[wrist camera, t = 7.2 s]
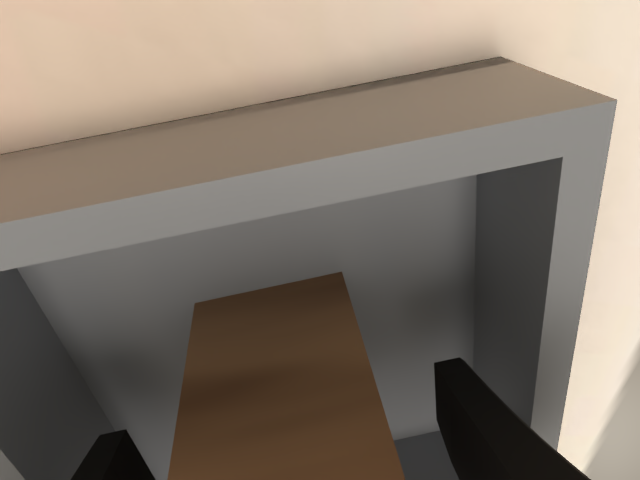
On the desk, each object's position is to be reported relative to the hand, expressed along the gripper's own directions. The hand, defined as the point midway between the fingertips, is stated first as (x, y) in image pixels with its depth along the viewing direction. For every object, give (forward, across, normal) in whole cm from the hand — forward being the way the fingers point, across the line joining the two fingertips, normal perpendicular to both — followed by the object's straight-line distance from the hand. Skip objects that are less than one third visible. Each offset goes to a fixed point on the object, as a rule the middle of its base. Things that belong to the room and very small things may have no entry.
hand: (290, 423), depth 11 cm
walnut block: (+3, 0, 0) cm, 3 cm away
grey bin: (+3, 0, 0) cm, 3 cm away
